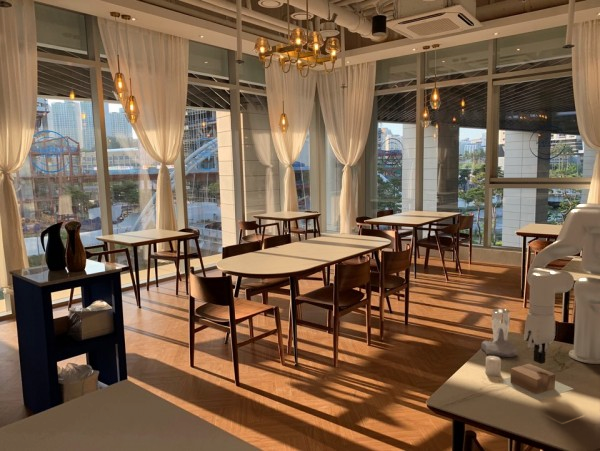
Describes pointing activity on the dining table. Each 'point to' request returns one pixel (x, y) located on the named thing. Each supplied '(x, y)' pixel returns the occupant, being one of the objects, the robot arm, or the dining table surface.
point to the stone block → (499, 348)
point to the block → (533, 378)
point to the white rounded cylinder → (493, 366)
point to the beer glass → (500, 324)
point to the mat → (558, 389)
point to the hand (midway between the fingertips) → (539, 361)
